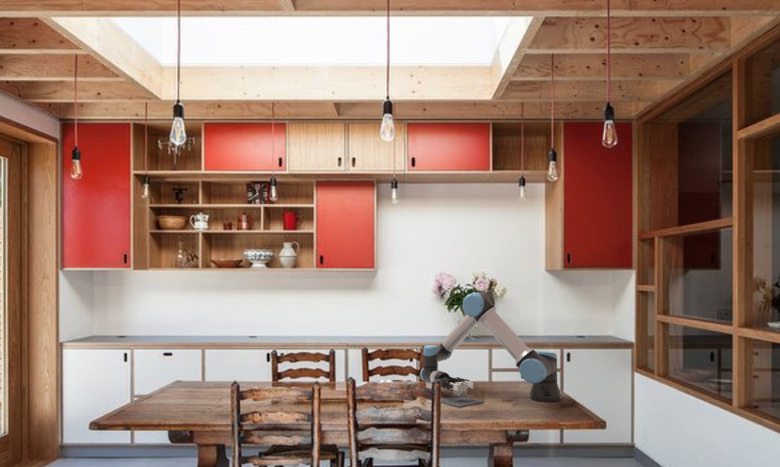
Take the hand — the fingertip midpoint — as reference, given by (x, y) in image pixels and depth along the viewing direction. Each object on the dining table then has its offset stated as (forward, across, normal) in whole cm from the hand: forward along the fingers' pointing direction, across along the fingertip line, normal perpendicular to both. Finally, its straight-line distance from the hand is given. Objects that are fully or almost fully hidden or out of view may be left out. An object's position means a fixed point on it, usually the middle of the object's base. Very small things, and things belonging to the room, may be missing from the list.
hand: (465, 386), depth 301 cm
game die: (-5, 0, -6) cm, 8 cm away
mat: (-5, 0, -8) cm, 9 cm away
